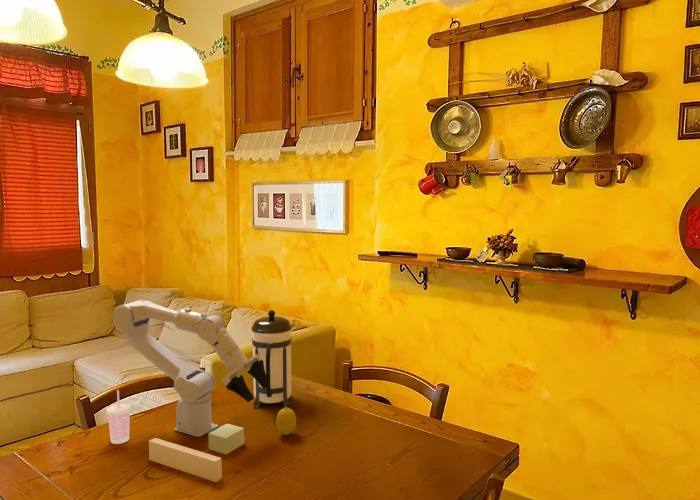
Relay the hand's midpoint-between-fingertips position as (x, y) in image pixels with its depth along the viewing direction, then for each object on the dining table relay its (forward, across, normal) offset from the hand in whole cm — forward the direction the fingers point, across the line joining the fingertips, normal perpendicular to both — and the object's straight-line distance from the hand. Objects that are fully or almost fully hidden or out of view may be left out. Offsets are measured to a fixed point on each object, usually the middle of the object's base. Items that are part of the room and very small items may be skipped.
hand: (259, 393), depth 145 cm
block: (+6, -10, +11) cm, 16 cm away
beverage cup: (-13, -20, +32) cm, 40 cm away
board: (+3, -24, +11) cm, 26 cm away
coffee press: (+6, +20, +18) cm, 27 cm away
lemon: (+14, +2, +4) cm, 14 cm away
